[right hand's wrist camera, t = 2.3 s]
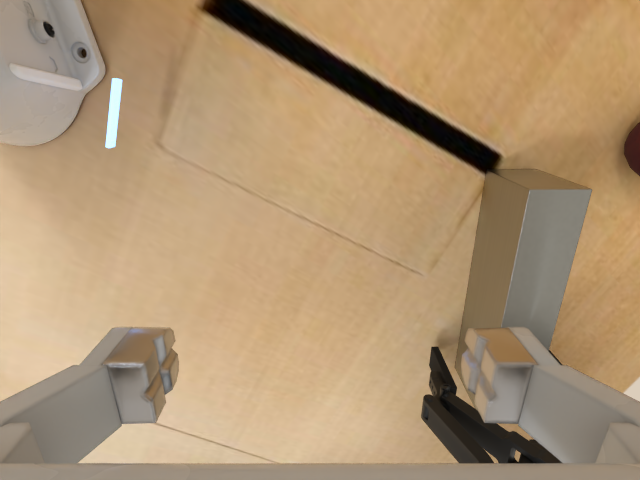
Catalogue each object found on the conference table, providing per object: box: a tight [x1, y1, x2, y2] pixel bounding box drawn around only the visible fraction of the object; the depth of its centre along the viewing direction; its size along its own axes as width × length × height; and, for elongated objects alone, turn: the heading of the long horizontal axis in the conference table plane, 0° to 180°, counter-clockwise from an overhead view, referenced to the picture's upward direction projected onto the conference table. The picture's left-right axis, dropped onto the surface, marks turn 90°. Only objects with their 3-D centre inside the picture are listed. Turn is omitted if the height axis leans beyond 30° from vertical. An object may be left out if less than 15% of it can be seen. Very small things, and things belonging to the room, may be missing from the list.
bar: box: [455, 169, 592, 411], centre depth 39 cm, size 25×5×8 cm, turn 0°
